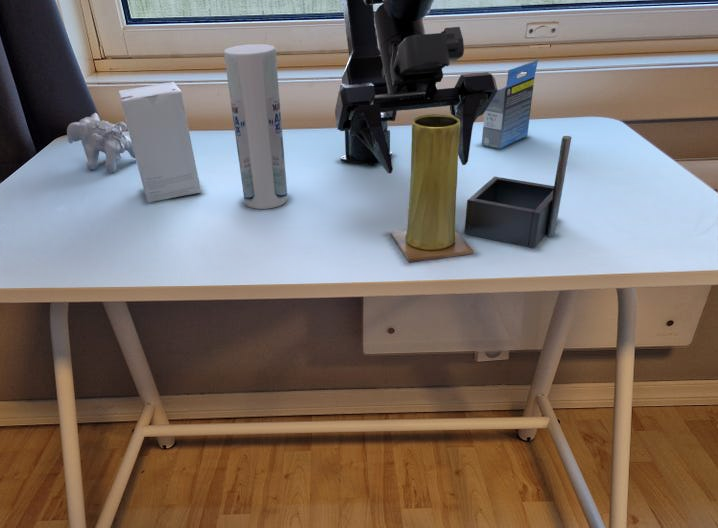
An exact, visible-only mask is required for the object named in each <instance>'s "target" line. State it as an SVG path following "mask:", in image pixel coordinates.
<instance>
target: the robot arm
mask: <svg viewBox="0 0 718 528" xmlns="http://www.w3.org/2000/svg"><path fill="white" fill-rule="evenodd" d="M434 1H435V0H341V2H342V10H343V18H344V26H345V34H346V42H347V52H348V58H349V59H348V61H347V64H346V66H345V69H344V71H343V73H342V76H341V83H340V86H339V90H338V93H337V99H336V104H335V109H334V117H335V122H336V128H337V129H336V130H338V131H339V132H344V148H345V149H344V150H345V154H343V155H342V156H341V157H340V158H339V159H340V161H341V162H344V163H351V164H356V165H363V166H369V167H376V166H377V165H379V164H380V165H381V167H382V168H383V169H384V170H385V172H386V173H387V174H392V173H393V169H394V168H393V162H392V156H393V152H392V151H391V130H390V129H388V128H389V125H388V124H389V122H390V121H391V122H395V121H396V119H397V112H399V111H411V110H412V111H413V110H423V109H430V108H433V109H434V108H442V107H449V111H450V114H451V116H454V117H456V118H458V119H459V120H460V135H459V149H458V159H459V161H460V163H461V166H466V165H467V164H468V162H469V157H470V150H471V141H472V134H473V127H474V123H475V122H476V121H477V119H478V118H479V117H481V116H484V112H485V111H486V109H487V107H488V106H489V104H490V103H491V101H492V99H493V98H494V96H495V95H496V93H497V91H498V86H497V81H496V78H495V76H494V75H493V74H492V73H490V72H489V71H483V72H475V73H473V72H472V73H463V74H460V76H459V77H458V80H457V81H456V82H455V83H456V84H454V85H455V86H454V87H448V88H447V87H445V88H438V87H437V83H441V82H442V80H443V78H444V72H443V69H444V68H445V67H449V66H450V64H451V63H450V62H457V61H458V60H459V59H461V58H463V56H464V53H465V46H464V45H465V44H464V37H463V34H462V30H461V27H460V26H453V27H445V28H443V30H442V31H441V32H437V33H426V29H425V25H424V21H423V18H425V17H426V16H428V15H429V14H430V12H431V9H432V7H433V4H434ZM375 5H376V6H377V5H379V6H378V7H377V8H376V10H374V6H375ZM374 11H375V12H374Z"/></svg>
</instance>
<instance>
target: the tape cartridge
mask: <svg viewBox="0 0 718 528" xmlns="http://www.w3.org/2000/svg"><path fill="white" fill-rule="evenodd" d="M537 68H538V60H537V59H536V60H534V61H532V62H529V63H525V64H522V65H520V66H516V67H514V68H510V69H508V71H507V78H506V86H504V87H502V88H499V89H498V88H497V90H498V91H497V93H496V95H495V96H494V98H493V99H492V101H491V103H490V104H489V106H488V107H487V109H486V111H485V112H484V114H483V125H482V135H481V136H482V137H481V146H483V147H486V148H492V149H496V150H501V149H503V148H505V147H507V146H509V145H511V144H513V143H515V142H518V141H519V140H522V139H524V138H526V137H528V135H529V126H530V118H531V112H532V111H531V109H532V102H533V92H534V84H535V77H536V71H537ZM522 72H523V73H525V75H522V76H520V77H518V75H520V74H521V73H522Z"/></svg>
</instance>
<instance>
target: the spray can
mask: <svg viewBox="0 0 718 528" xmlns="http://www.w3.org/2000/svg"><path fill="white" fill-rule="evenodd" d="M276 50H277V49H276V47H275V46H274V45H272V44H265V43H253V44H252V43H251V44H242V45H240V44H239V45H235V46H234V45H233V46H230V47H227V48H225V49H224V51H223V57H224V62H225V71H226V79H227V85H228V91H229V99H230V106H231V113H232V121H233V122H232V123H233V129H234V135H235V143H236V150H237V151H236V152H237V157H238V163H239V164H238V165H239V172H240V179H241V187H242V193H243V199H244V203H245V205H246V206H247V207H249V208H252V209H257V210H268V209H274V208H277V207H280V206H283V205H284V204H285V203H286V202H287V201H288V186H287V184H288V183H287V173H286V161H285V146H284V137H283V136H284V135H283V124H282V113H281V101H280V100H281V99H280V88H279V76H278V74H279V73H278V63H277V53H276V52H277V51H276Z"/></svg>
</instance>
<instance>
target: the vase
mask: <svg viewBox="0 0 718 528" xmlns="http://www.w3.org/2000/svg"><path fill="white" fill-rule="evenodd" d="M459 135H460V120H459V119H458V118H456V117H454V116H453V115H449V114H440V113H439V114H438V113H437V114H435V113H434V114H433V113H432V114H424V115H420V116H417V117H415V118H414V119H413V120H412V123H411V146H410V147H411V149H410V150H411V151H410V153H411V154H410V179H409V195H408V209H407V227H406V230H407V233H406V237H405V240H406V242H407V243H408V244H409V245H410V246H412V247H414V248H418V249H422V250H441V249H445V248H448V247H450V246H451V245H452V244H453V243H454V242H455V240H456V238H455V230H456V215H457V214H456V213H457V188H458V169H459V168H458V166H459V163H458V162H459V155H458V149H459Z"/></svg>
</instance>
